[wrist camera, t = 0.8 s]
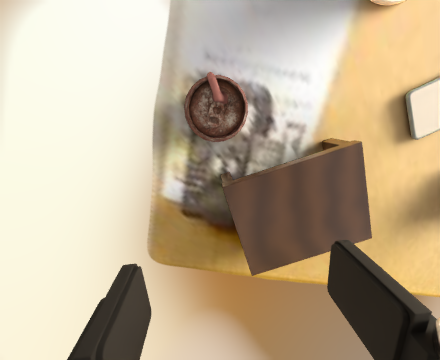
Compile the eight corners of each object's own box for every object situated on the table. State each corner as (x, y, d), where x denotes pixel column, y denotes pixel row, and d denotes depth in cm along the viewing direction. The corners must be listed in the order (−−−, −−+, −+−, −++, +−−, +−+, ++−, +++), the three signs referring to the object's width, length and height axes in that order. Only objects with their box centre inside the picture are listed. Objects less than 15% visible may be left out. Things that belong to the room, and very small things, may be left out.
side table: (332, 136, 35) (362, 141, 28) (344, 217, 40) (372, 238, 33) (218, 173, 36) (222, 187, 29) (244, 249, 40) (252, 276, 34)
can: (222, 82, 31) (236, 58, 18) (236, 123, 33) (258, 129, 20) (185, 97, 32) (171, 84, 18) (200, 137, 34) (198, 152, 20)
